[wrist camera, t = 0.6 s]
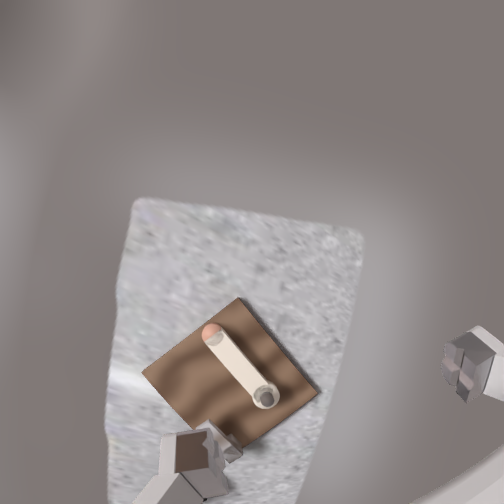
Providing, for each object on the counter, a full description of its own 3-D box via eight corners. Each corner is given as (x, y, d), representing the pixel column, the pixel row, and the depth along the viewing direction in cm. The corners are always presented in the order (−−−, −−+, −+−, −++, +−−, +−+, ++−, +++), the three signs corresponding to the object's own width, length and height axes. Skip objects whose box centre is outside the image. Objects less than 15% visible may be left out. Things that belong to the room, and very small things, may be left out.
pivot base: (315, 390, 55) (325, 402, 49) (224, 455, 52) (224, 472, 46) (237, 297, 55) (239, 299, 49) (143, 370, 53) (134, 380, 47)
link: (282, 392, 53) (285, 397, 50) (262, 408, 52) (263, 413, 50) (217, 316, 53) (216, 318, 50) (196, 332, 52) (194, 335, 50)
